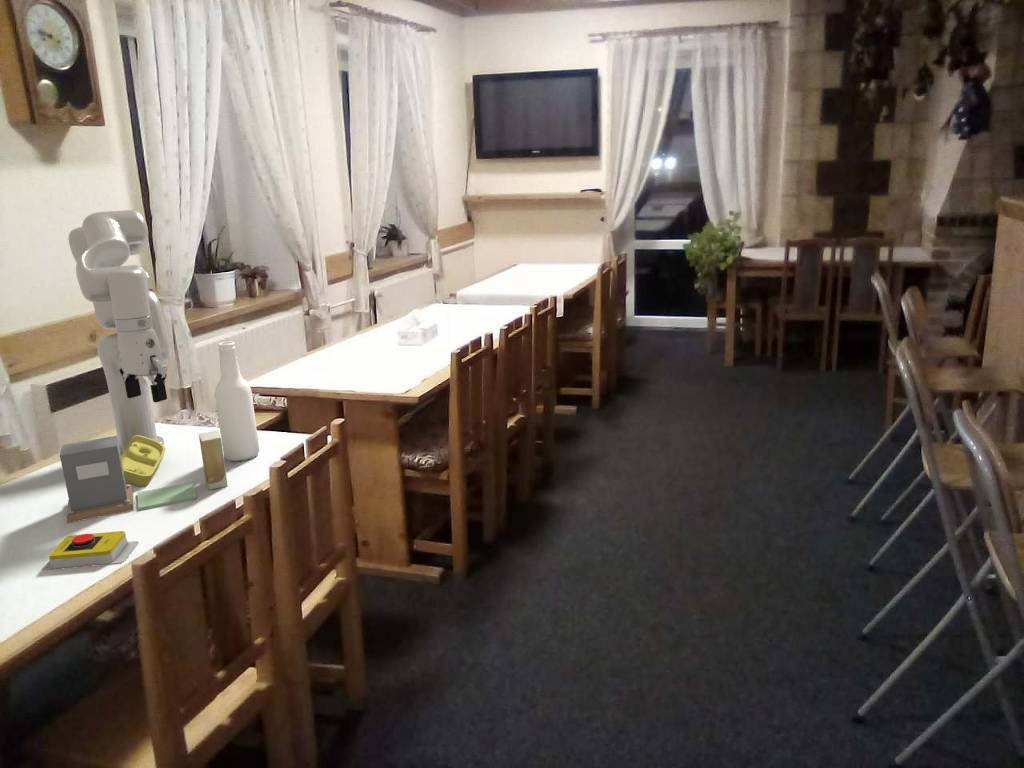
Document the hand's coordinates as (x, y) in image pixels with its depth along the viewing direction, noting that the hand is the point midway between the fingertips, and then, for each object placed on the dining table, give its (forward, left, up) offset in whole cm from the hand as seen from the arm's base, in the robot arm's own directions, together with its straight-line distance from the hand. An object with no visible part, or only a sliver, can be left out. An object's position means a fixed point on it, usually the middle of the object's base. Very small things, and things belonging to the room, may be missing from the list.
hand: (147, 398), depth 181 cm
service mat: (+7, +1, -22) cm, 23 cm away
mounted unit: (+5, -13, -22) cm, 26 cm away
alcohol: (-12, +20, -22) cm, 32 cm away
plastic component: (-13, -5, -22) cm, 26 cm away
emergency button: (+31, -14, -23) cm, 41 cm away
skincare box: (+5, +12, -22) cm, 25 cm away
